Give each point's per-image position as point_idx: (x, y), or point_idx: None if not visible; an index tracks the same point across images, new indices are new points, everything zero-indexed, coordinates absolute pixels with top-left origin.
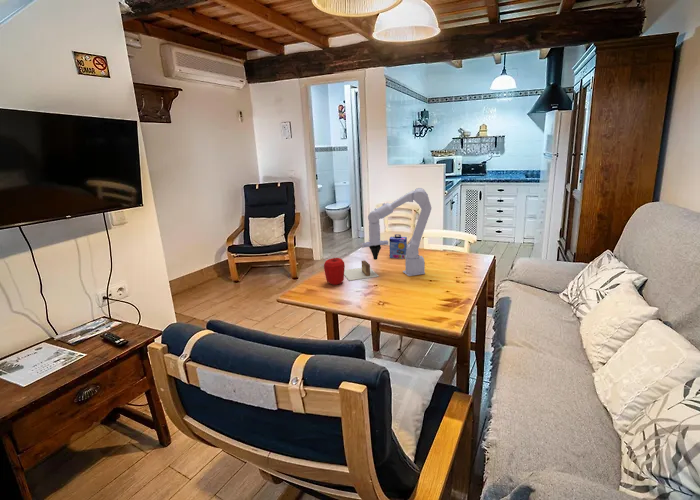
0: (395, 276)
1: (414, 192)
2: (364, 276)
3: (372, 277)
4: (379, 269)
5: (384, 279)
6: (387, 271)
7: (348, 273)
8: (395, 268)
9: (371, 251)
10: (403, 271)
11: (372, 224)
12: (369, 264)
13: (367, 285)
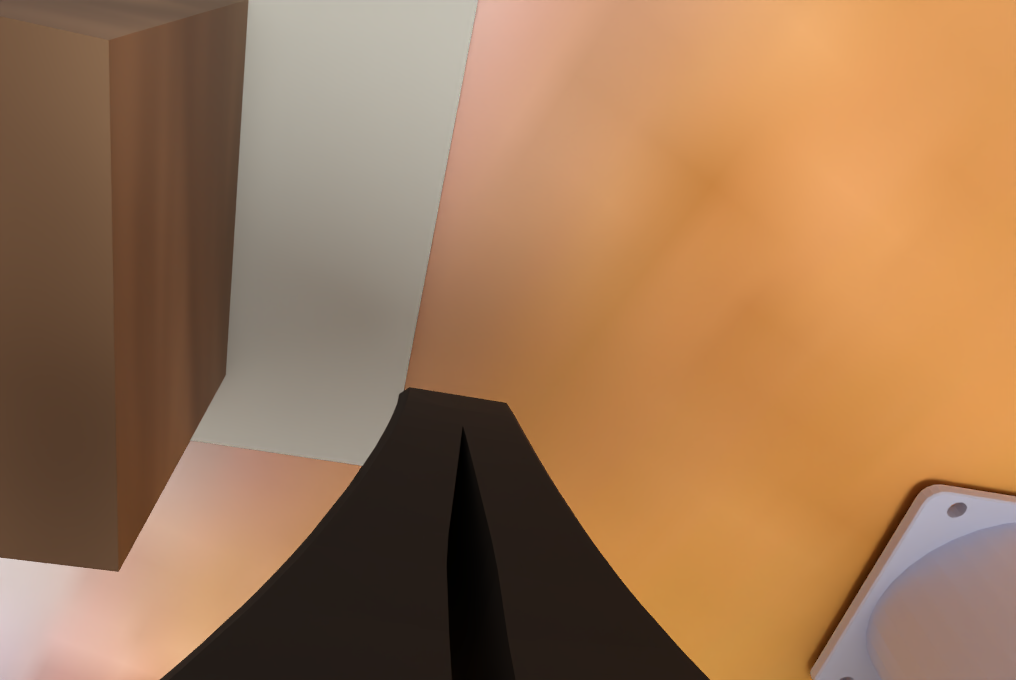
0: (653, 579)
1: None
2: None
3: (248, 439)
4: (685, 55)
5: None
6: (731, 299)
7: None
8: (1012, 233)
9: (247, 625)
10: (914, 525)
11: None
12: (117, 549)
13: (27, 662)
